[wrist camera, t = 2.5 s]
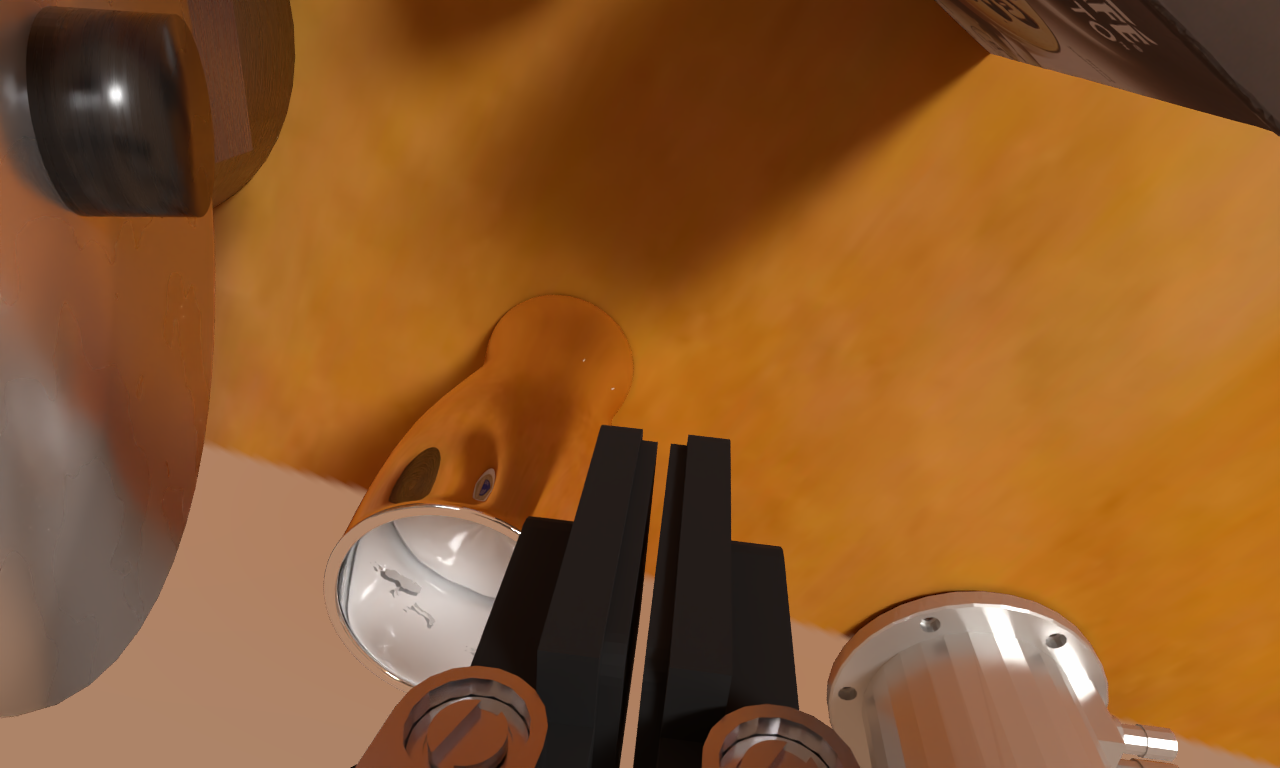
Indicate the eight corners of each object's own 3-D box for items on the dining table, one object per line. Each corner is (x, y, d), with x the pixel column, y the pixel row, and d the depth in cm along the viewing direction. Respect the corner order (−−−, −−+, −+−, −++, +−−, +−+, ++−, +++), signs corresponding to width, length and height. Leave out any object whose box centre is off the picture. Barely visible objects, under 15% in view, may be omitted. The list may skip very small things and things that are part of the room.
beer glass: (589, 463, 36) (506, 752, 22) (450, 380, 35) (274, 633, 21) (678, 343, 33) (642, 593, 19) (528, 249, 32) (381, 446, 18)
